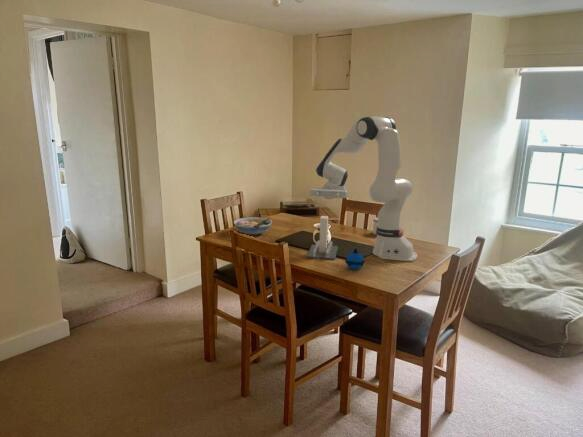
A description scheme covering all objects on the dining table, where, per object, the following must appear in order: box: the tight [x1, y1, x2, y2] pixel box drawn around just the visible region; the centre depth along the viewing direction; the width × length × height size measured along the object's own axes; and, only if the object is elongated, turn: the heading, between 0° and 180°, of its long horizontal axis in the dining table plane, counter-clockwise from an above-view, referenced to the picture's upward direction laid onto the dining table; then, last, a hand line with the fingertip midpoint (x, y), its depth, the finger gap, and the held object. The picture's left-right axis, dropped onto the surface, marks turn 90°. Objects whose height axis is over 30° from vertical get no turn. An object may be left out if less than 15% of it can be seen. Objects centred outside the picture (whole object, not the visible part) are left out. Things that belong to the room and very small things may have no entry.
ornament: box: [345, 248, 365, 271], centre depth 202 cm, size 9×9×10 cm
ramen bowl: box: [233, 216, 273, 236], centre depth 258 cm, size 25×23×8 cm
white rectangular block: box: [319, 215, 329, 253], centre depth 224 cm, size 5×4×18 cm
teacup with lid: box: [372, 216, 378, 236], centre depth 263 cm, size 12×9×12 cm
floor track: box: [306, 239, 339, 261], centre depth 226 cm, size 20×14×4 cm
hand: (327, 195), depth 231 cm, fingers open, 8 cm apart
